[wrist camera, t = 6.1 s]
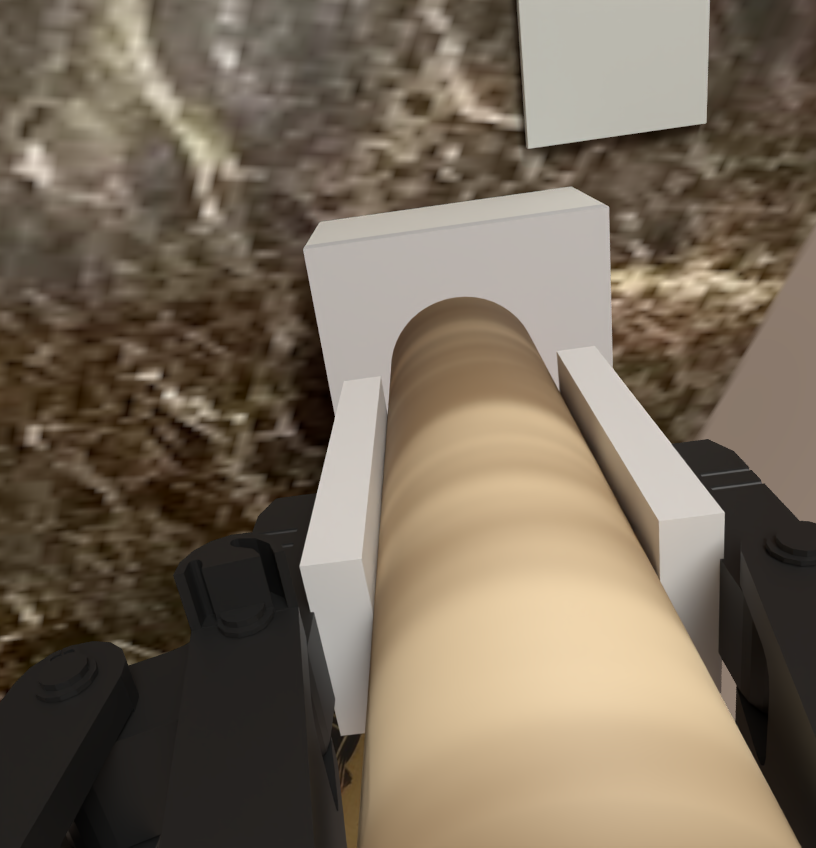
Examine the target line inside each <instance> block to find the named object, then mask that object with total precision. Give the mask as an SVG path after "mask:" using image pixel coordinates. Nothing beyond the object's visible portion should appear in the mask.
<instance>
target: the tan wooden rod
mask: <svg viewBox="0 0 816 848" xmlns="http://www.w3.org/2000/svg"><path fill="white" fill-rule="evenodd" d="M357 848H802V847H801V845H800V844H799V842H798V840H797V838H796V836H795V834H794V832H793V830H792V828H791V827H790V825H789V823H788V821H787V819H786V817H785V815H784V813H783V812H782V810H781V808H780V806H779V804H778V802H777V800H776V798H775V796H774V795H773V793H772V791H771V789H770V787H769V785H768V783H767V781H766V779H765V778H764V776H763V774H762V772H761V770H760V768H759V766H758V764H757V763H756V761H755V759H754V757H753V755H752V753H751V751H750V749H749V747H748V746H747V744H746V742H745V740H744V738H743V736H742V734H741V732H740V731H739V729H738V727H737V725H736V723H735V721H734V719H733V717H732V715H731V714H730V712H729V710H728V708H727V706H726V704H725V702H724V700H723V698H722V697H721V695H720V693H719V691H718V689H717V687H716V685H715V683H714V682H713V680H712V678H711V676H710V674H709V672H708V670H707V668H706V666H705V665H704V663H703V661H702V659H701V657H700V655H699V653H698V651H697V650H696V648H695V646H694V644H693V642H692V640H691V638H690V636H689V634H688V633H687V631H686V629H685V627H684V625H683V623H682V621H681V619H680V617H679V616H678V614H677V612H676V610H675V608H674V606H673V604H672V602H671V601H670V599H669V597H668V595H667V593H666V591H665V589H664V587H663V585H662V584H661V582H660V580H659V578H658V576H657V574H656V572H655V570H654V569H653V567H652V565H651V563H650V561H649V559H648V557H647V555H646V553H645V552H644V550H643V548H642V546H641V544H640V542H639V540H638V538H637V536H636V535H635V533H634V531H633V529H632V527H631V525H630V523H629V521H628V520H627V518H626V516H625V514H624V512H623V510H622V508H621V506H620V504H619V503H618V501H617V499H616V497H615V495H614V493H613V491H612V489H611V488H610V486H609V484H608V482H607V480H606V478H605V476H604V474H603V472H602V471H601V469H600V467H599V465H598V463H597V461H596V459H595V457H594V456H593V454H592V452H591V450H590V448H589V446H588V444H587V442H586V440H585V439H584V437H583V435H582V433H581V431H580V429H579V427H578V425H577V423H576V422H575V420H574V418H573V416H572V414H571V412H570V410H569V408H568V407H567V405H566V403H565V401H564V399H563V397H562V395H561V393H560V391H559V390H558V388H557V386H556V384H555V382H554V380H553V378H552V376H551V375H550V373H549V371H548V369H547V367H546V365H545V363H544V361H543V359H542V358H541V356H540V354H539V352H538V350H537V348H536V346H535V344H534V342H533V341H532V339H531V337H530V335H529V333H528V331H527V330H526V328H525V327H524V325H523V324H522V323H521V322H520V320H519V319H518V318H517V317H516V316H515V315H514V314H512V313H511V312H510V311H509V310H507V309H506V308H504V307H503V306H501V305H499V304H497V303H495V302H492V301H489V300H486V299H482V298H477V297H454V298H449V299H445V300H442V301H439V302H436V303H434V304H432V305H430V306H428V307H426V308H425V309H423V310H422V311H420V312H419V313H418V314H417V315H415V316H414V317H413V318H412V319H411V320H410V321H409V322H408V324H407V325H406V326H405V327H404V329H403V330H402V332H401V333H400V335H399V337H398V339H397V341H396V344H395V347H394V350H393V355H392V360H391V374H390V388H389V402H388V416H387V430H386V444H385V458H384V472H383V486H382V500H381V515H380V529H379V543H378V557H377V571H376V585H375V599H374V613H373V627H372V641H371V655H370V669H369V683H368V697H367V711H366V725H365V739H364V753H363V767H362V782H361V796H360V810H359V824H358V838H357Z"/></svg>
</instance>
